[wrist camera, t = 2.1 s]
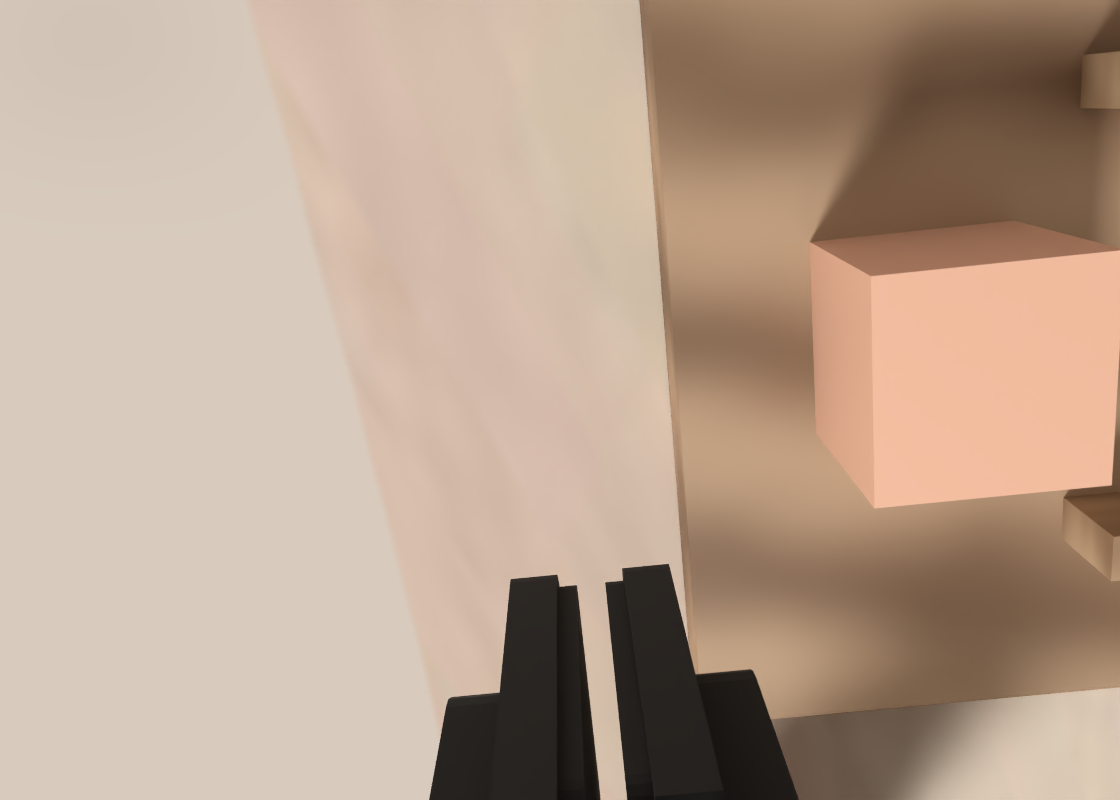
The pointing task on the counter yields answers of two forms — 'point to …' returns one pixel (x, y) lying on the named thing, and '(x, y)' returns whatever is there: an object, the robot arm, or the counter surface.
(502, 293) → the counter surface
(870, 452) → the terracotta block
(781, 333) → the deck
